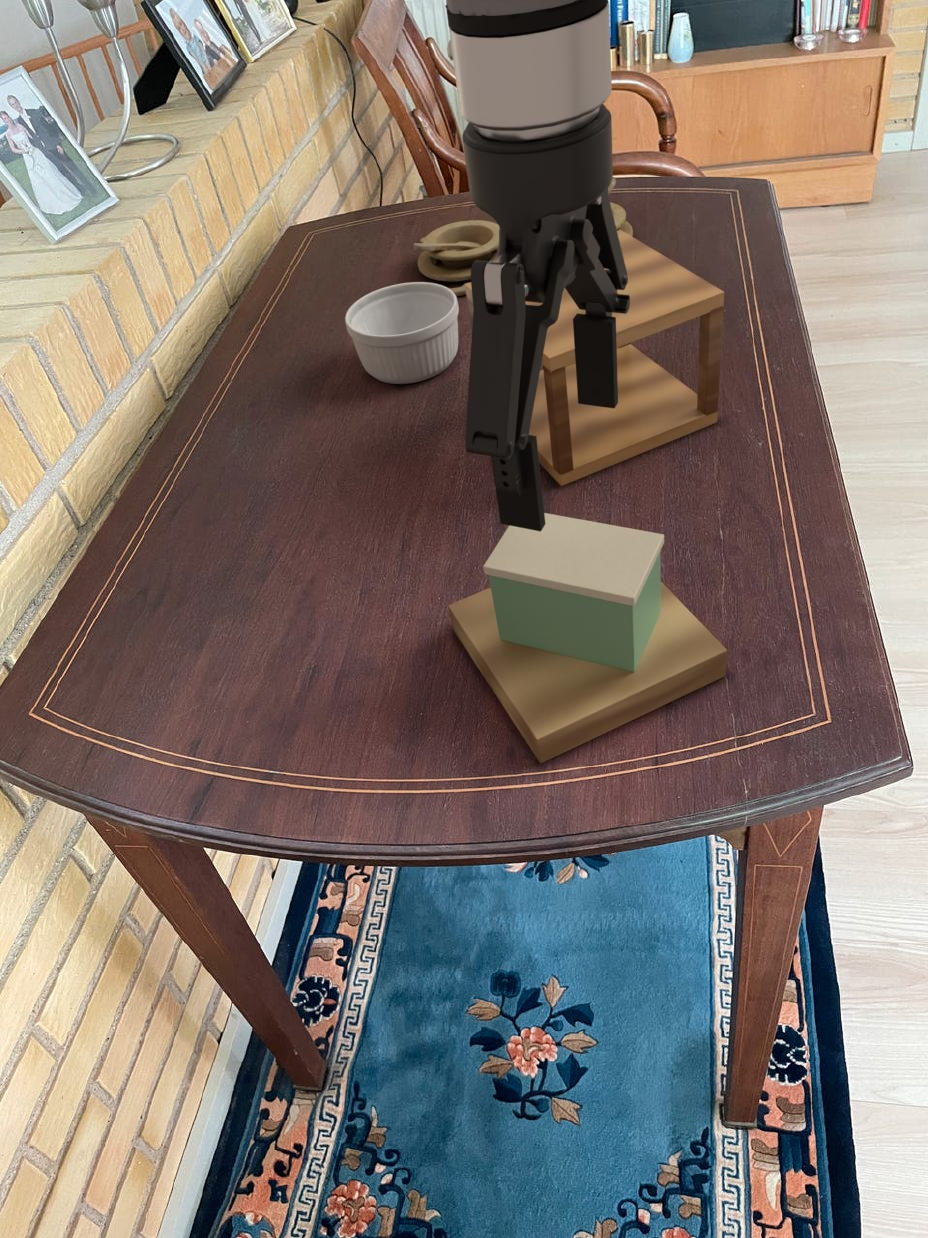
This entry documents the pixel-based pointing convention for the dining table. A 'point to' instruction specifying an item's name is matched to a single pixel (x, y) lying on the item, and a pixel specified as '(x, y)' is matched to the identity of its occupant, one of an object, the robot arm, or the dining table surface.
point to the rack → (627, 372)
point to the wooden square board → (586, 675)
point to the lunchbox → (578, 589)
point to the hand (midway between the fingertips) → (563, 460)
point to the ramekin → (405, 331)
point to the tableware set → (474, 246)
